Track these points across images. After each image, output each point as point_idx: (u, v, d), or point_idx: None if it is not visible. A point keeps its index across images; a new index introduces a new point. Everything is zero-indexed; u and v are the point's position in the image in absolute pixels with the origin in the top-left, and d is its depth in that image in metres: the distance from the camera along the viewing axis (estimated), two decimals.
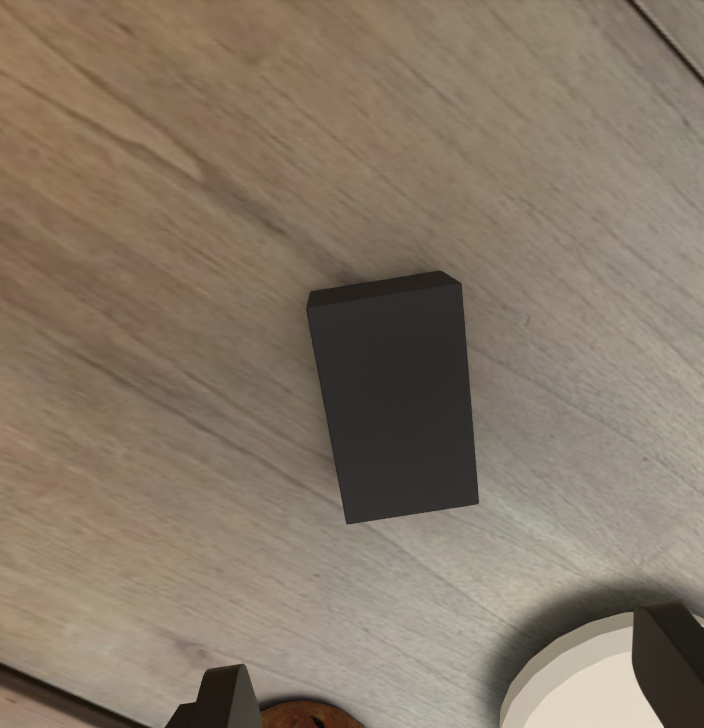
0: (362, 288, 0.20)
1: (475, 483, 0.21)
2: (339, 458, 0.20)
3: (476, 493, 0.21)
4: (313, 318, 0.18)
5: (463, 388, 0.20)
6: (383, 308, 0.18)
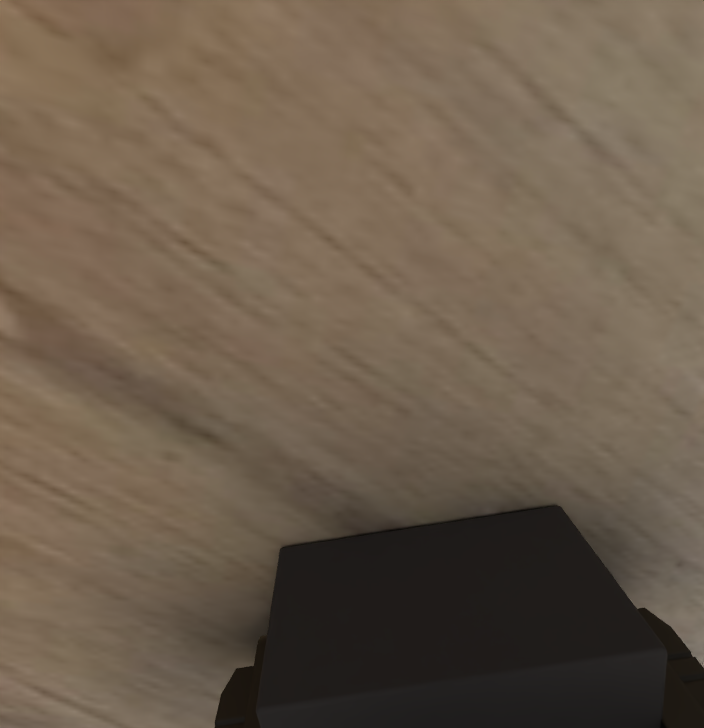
0: (395, 578, 0.09)
1: None
2: None
3: None
4: None
5: None
6: (459, 706, 0.07)
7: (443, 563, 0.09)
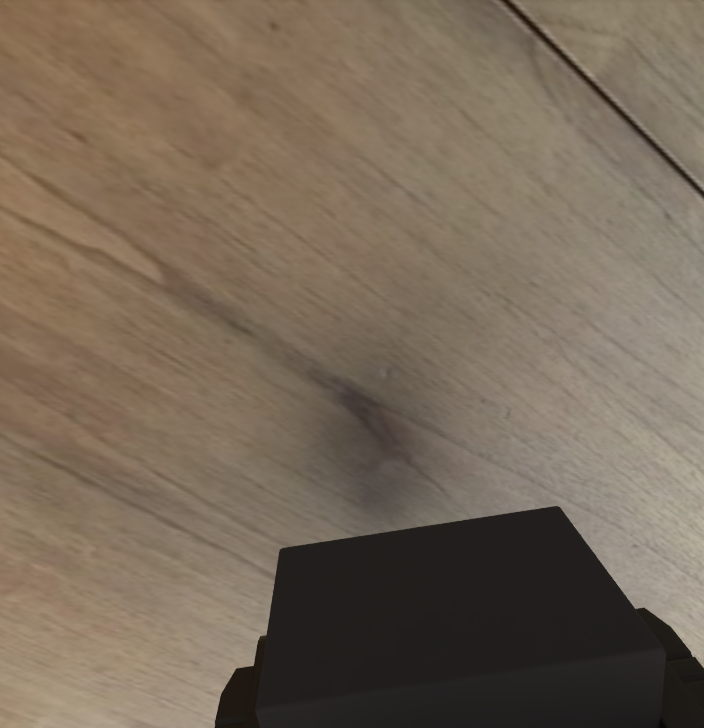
0: (394, 579, 0.09)
1: None
2: None
3: None
4: None
5: None
6: (458, 706, 0.07)
7: (442, 563, 0.09)
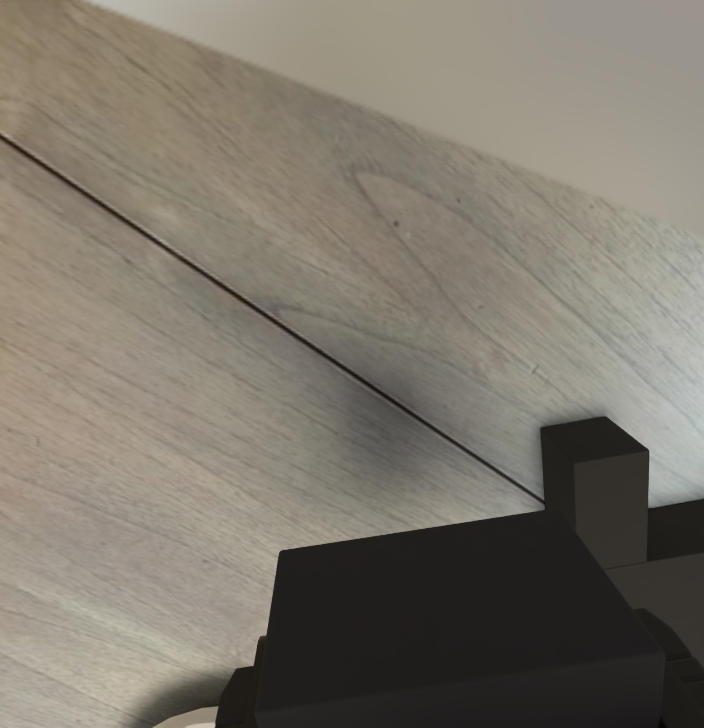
0: (394, 581, 0.09)
1: None
2: None
3: None
4: None
5: None
6: (457, 709, 0.07)
7: (442, 566, 0.09)
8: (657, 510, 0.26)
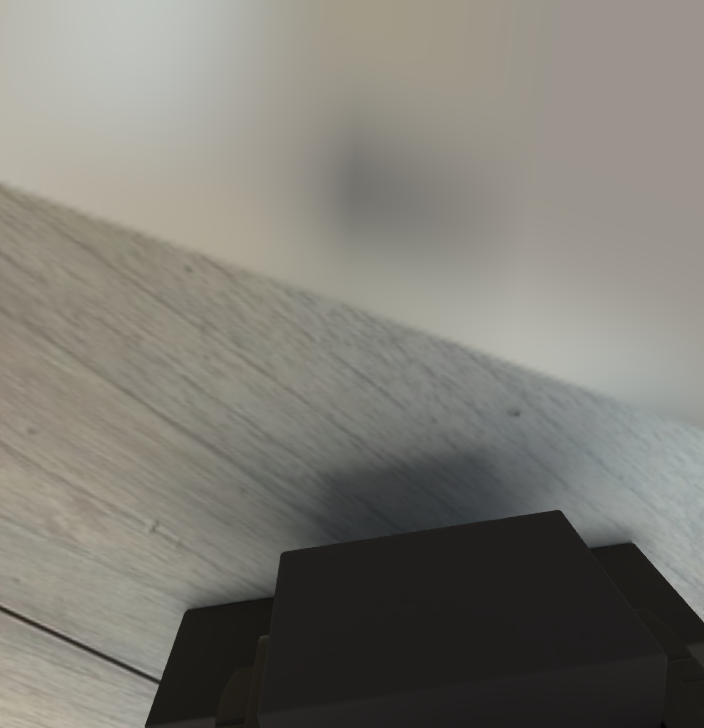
0: (396, 583, 0.09)
1: None
2: None
3: None
4: None
5: None
6: (460, 712, 0.07)
7: (444, 568, 0.09)
8: None
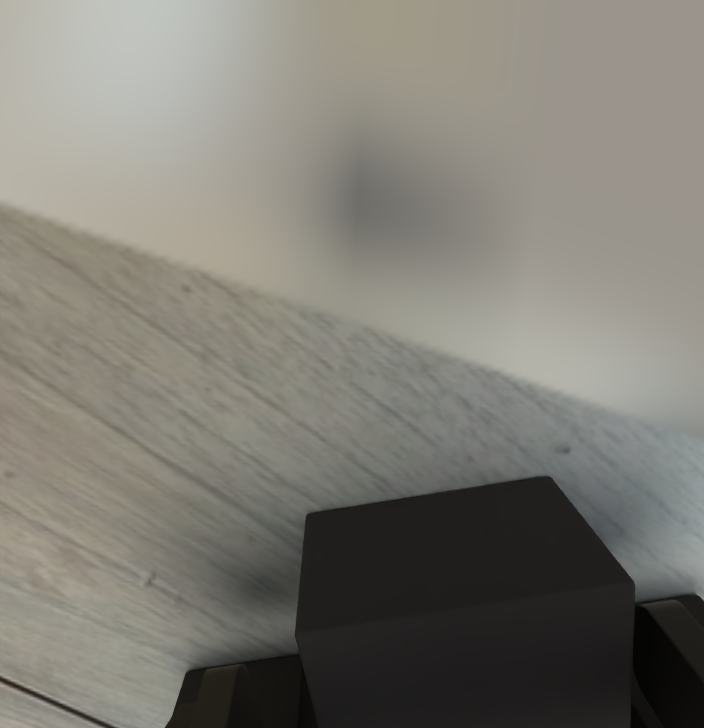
0: (407, 535, 0.10)
1: None
2: None
3: None
4: (311, 653, 0.09)
5: None
6: (463, 631, 0.08)
7: (449, 523, 0.11)
8: None
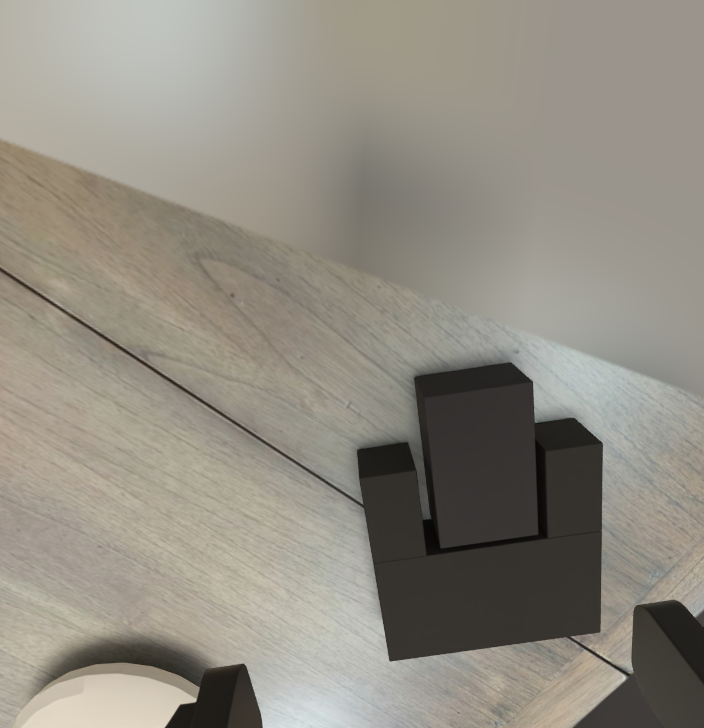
0: (456, 378, 0.28)
1: (536, 519, 0.29)
2: (438, 501, 0.28)
3: (536, 526, 0.29)
4: (428, 405, 0.26)
5: (531, 452, 0.27)
6: (478, 398, 0.26)
7: (471, 374, 0.28)
8: None
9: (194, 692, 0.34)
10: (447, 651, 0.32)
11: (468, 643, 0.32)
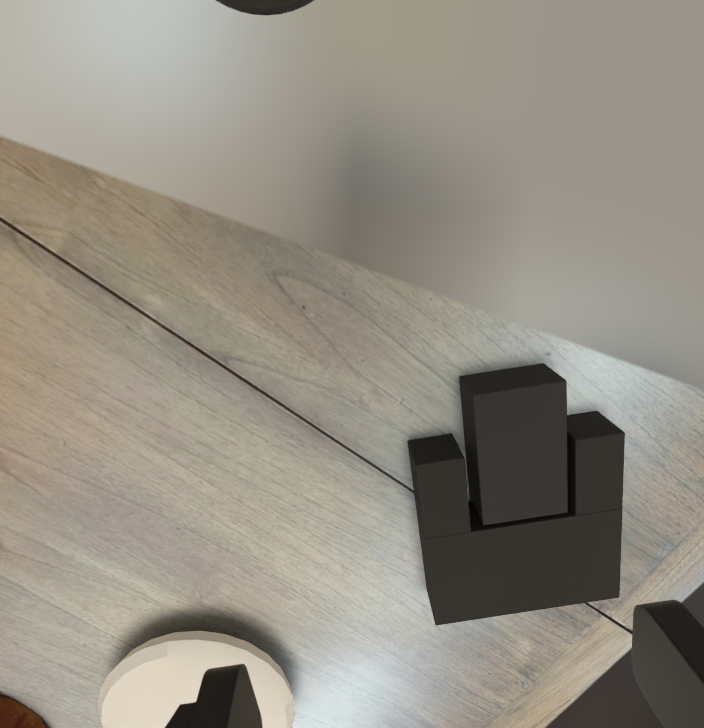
0: (498, 378, 0.32)
1: (566, 499, 0.33)
2: (483, 484, 0.33)
3: (566, 505, 0.33)
4: (477, 401, 0.31)
5: (563, 441, 0.32)
6: (519, 395, 0.31)
7: (511, 374, 0.33)
8: None
9: (261, 656, 0.38)
10: (486, 615, 0.36)
11: (504, 608, 0.36)
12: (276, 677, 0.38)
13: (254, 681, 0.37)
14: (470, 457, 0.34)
